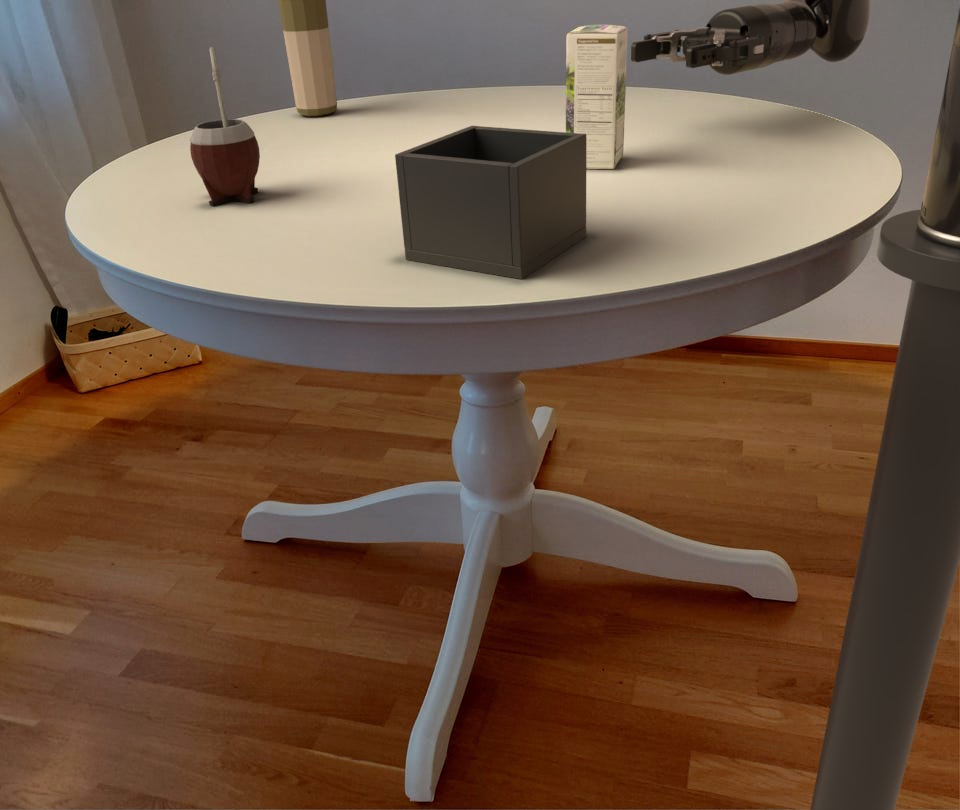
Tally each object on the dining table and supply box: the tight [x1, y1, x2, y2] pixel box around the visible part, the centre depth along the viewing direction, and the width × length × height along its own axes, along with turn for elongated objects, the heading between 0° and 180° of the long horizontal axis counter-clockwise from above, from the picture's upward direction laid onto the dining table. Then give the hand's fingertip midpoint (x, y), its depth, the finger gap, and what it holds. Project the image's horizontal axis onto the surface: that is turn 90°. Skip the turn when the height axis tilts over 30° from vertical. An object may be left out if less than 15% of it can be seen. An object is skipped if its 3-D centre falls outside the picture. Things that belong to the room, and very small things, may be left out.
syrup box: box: [565, 24, 629, 170], centre depth 98 cm, size 6×6×14 cm
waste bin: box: [394, 125, 587, 280], centre depth 75 cm, size 12×12×9 cm
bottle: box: [277, 0, 338, 118], centre depth 131 cm, size 7×7×30 cm
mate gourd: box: [189, 46, 261, 207], centre depth 94 cm, size 8×8×15 cm
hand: (660, 55), depth 102 cm, fingers open, 8 cm apart
